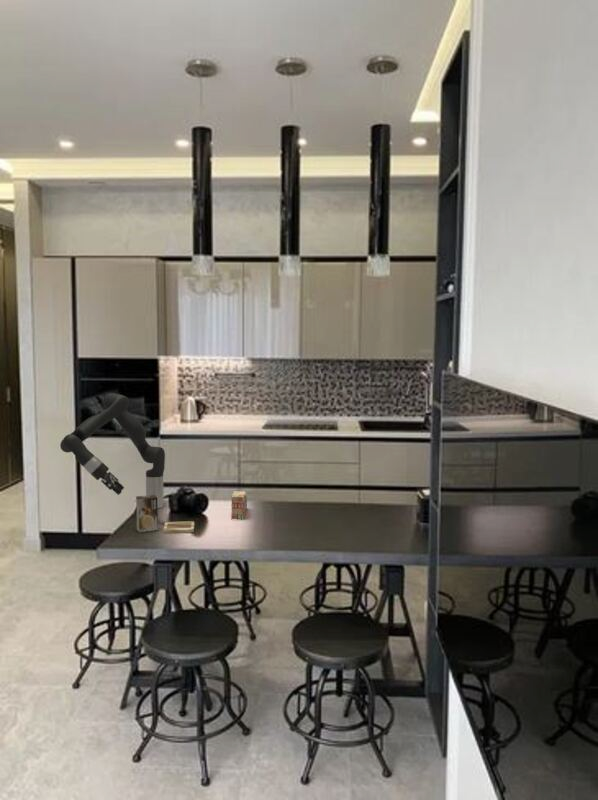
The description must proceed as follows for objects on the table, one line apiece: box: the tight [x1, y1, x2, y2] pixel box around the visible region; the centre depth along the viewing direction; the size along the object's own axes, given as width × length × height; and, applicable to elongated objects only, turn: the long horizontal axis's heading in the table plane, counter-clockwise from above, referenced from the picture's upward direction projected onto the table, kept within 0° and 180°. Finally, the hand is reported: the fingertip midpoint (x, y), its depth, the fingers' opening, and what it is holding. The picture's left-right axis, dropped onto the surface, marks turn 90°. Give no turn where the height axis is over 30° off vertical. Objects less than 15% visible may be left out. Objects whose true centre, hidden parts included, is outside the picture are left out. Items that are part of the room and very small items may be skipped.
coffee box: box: [135, 495, 159, 533], centre depth 293 cm, size 9×6×16 cm
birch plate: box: [162, 520, 195, 534], centre depth 295 cm, size 14×14×2 cm
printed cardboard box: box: [230, 490, 248, 521], centre depth 323 cm, size 21×6×12 cm, turn 0°
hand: (121, 491), depth 290 cm, fingers open, 8 cm apart
